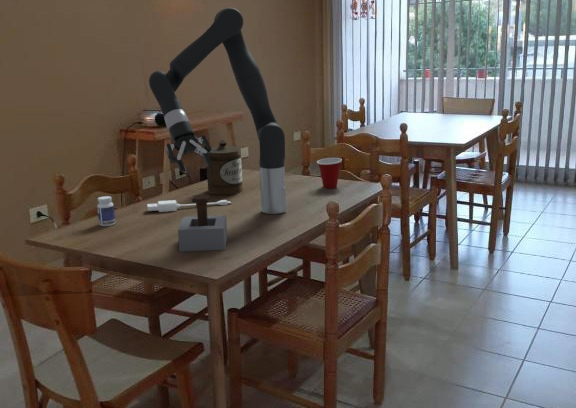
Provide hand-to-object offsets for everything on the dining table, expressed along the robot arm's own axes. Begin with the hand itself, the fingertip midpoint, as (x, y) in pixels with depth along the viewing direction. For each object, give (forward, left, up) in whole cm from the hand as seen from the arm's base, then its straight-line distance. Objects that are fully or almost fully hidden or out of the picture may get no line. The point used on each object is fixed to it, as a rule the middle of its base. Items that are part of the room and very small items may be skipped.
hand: (196, 168), depth 197 cm
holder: (-2, +10, -22) cm, 25 cm away
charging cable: (+8, -33, -23) cm, 41 cm away
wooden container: (-5, -58, -23) cm, 62 cm away
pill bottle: (+35, -15, -23) cm, 44 cm away
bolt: (-2, +10, -22) cm, 24 cm away
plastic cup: (-50, -58, -23) cm, 80 cm away
